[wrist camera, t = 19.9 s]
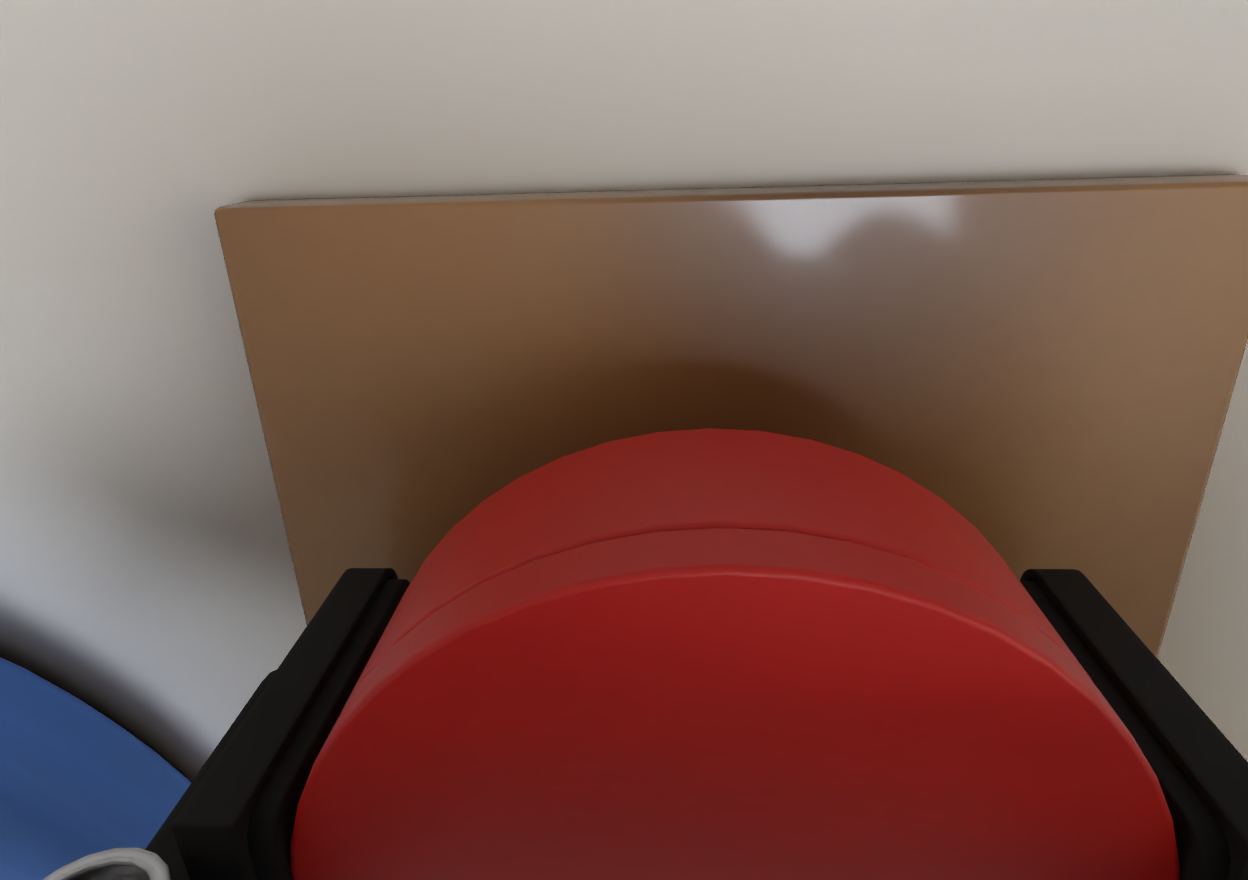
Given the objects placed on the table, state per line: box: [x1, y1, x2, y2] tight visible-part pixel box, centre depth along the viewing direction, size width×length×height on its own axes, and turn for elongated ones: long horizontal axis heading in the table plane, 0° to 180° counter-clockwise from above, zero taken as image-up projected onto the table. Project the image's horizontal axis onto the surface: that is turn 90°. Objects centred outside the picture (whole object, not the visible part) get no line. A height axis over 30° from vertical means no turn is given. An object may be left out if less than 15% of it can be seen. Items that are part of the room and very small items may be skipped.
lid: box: [291, 428, 1180, 880], centre depth 8 cm, size 8×8×2 cm
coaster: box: [214, 175, 1248, 658], centre depth 11 cm, size 12×12×1 cm
